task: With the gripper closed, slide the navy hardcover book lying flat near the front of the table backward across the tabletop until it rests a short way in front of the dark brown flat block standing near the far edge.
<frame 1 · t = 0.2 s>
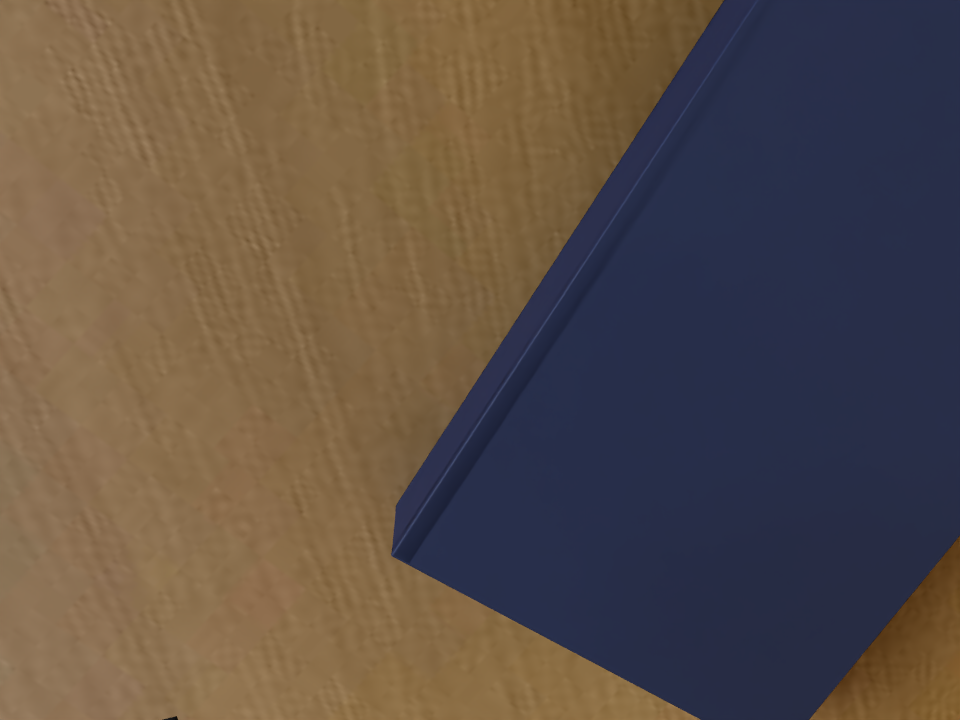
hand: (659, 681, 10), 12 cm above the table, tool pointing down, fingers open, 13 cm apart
book: (807, 279, 21), on the table
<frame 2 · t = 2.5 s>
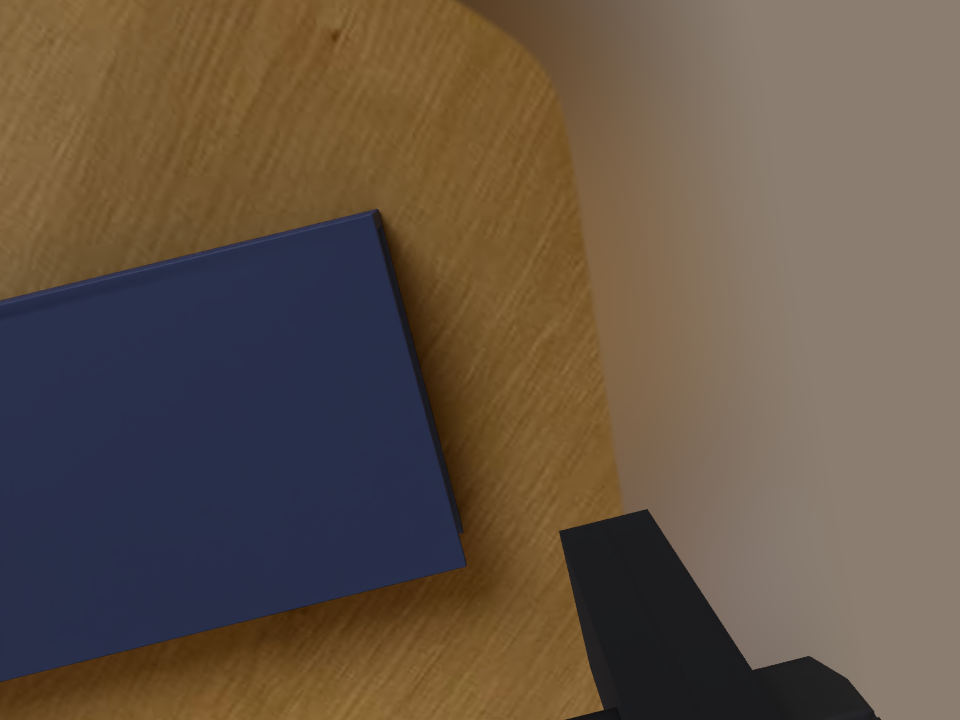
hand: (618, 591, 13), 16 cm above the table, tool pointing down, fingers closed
book: (115, 453, 28), on the table
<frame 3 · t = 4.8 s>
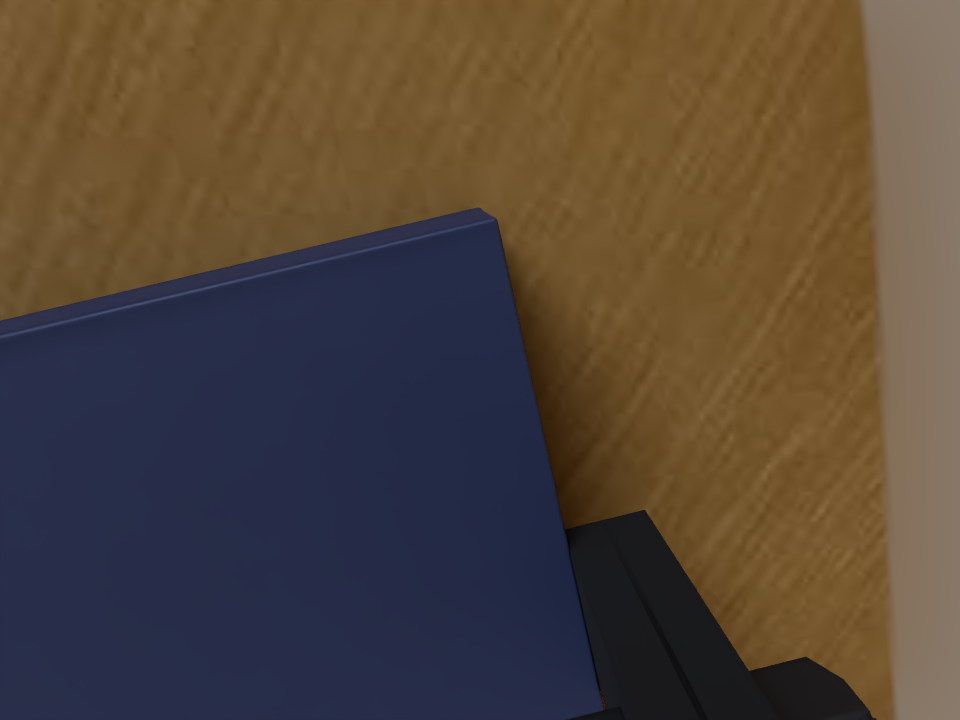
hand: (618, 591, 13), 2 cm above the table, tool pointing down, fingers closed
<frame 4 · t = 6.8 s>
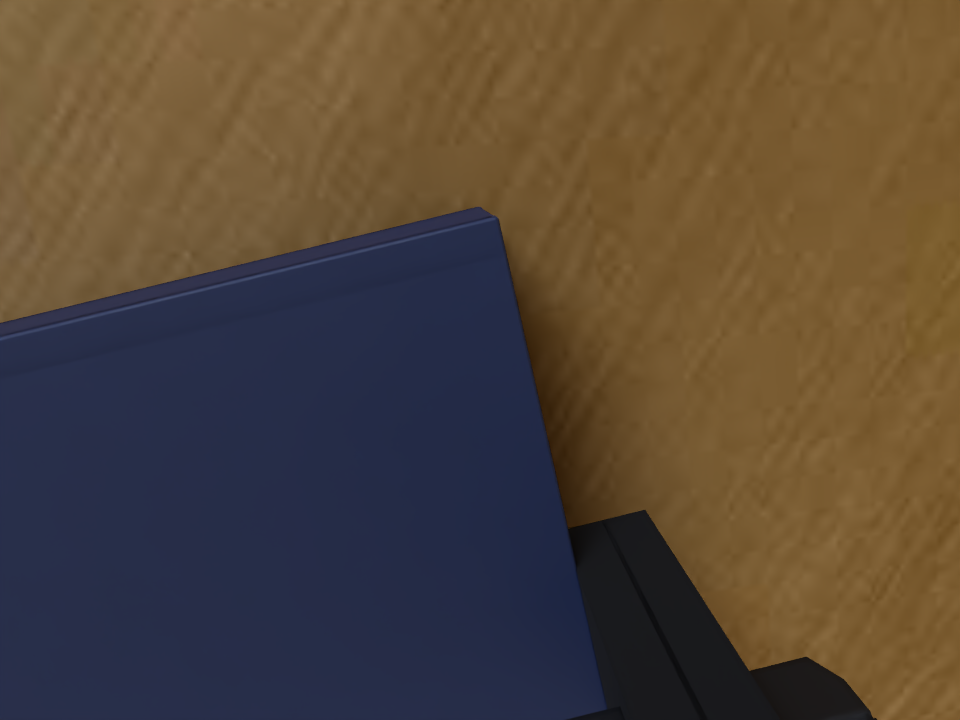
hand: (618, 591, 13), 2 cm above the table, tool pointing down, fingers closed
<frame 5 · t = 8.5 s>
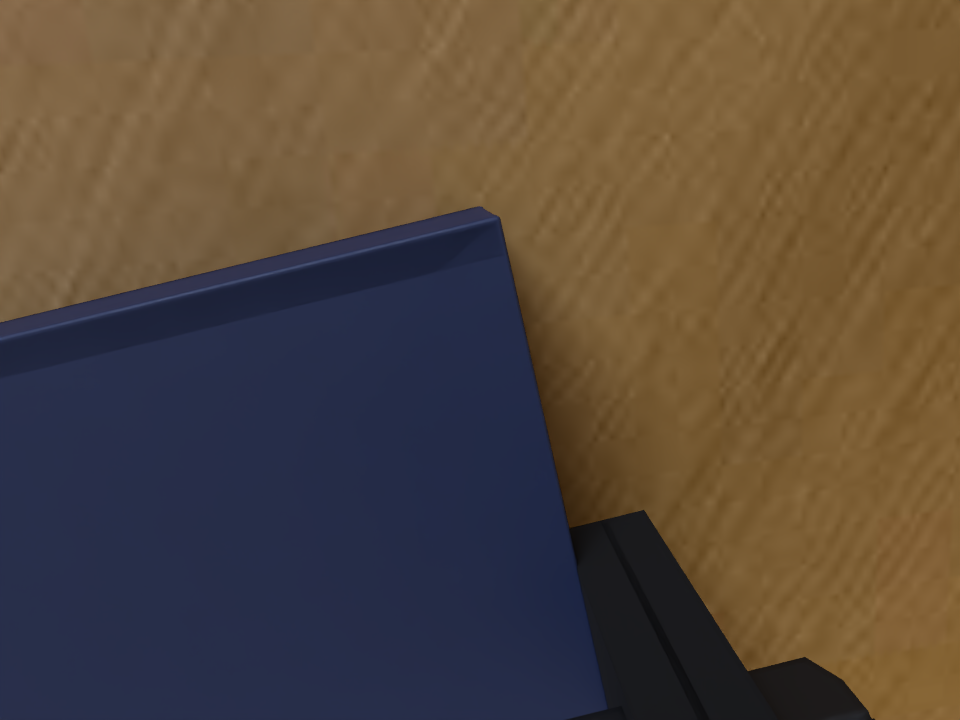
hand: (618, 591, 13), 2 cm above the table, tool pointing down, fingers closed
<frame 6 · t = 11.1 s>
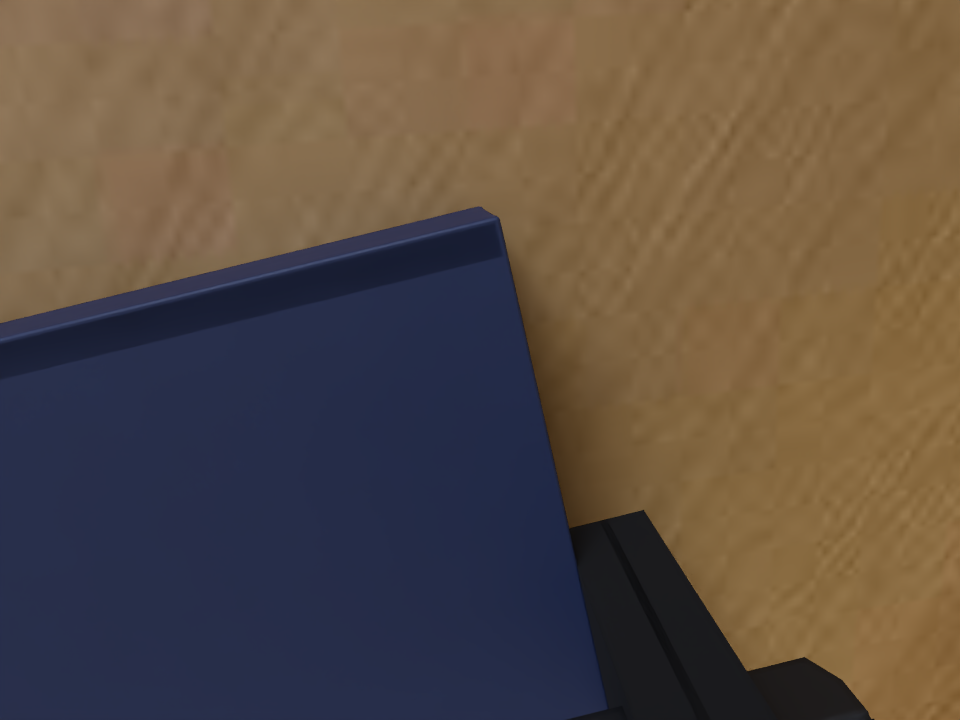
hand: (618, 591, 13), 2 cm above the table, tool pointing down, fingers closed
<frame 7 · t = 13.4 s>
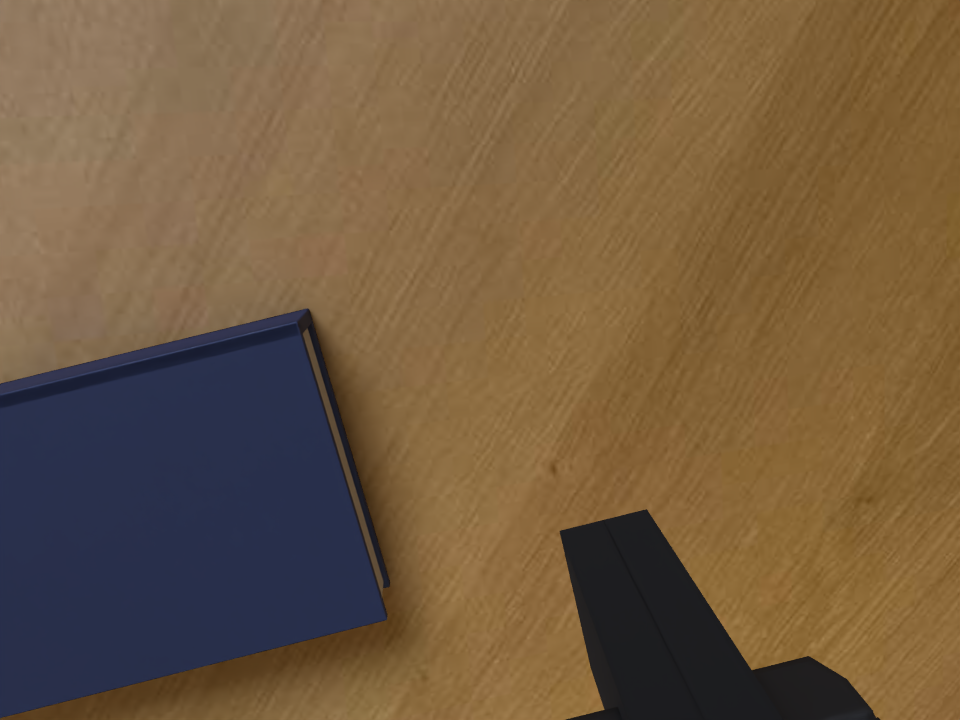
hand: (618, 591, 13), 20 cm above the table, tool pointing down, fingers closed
book: (79, 519, 32), on the table
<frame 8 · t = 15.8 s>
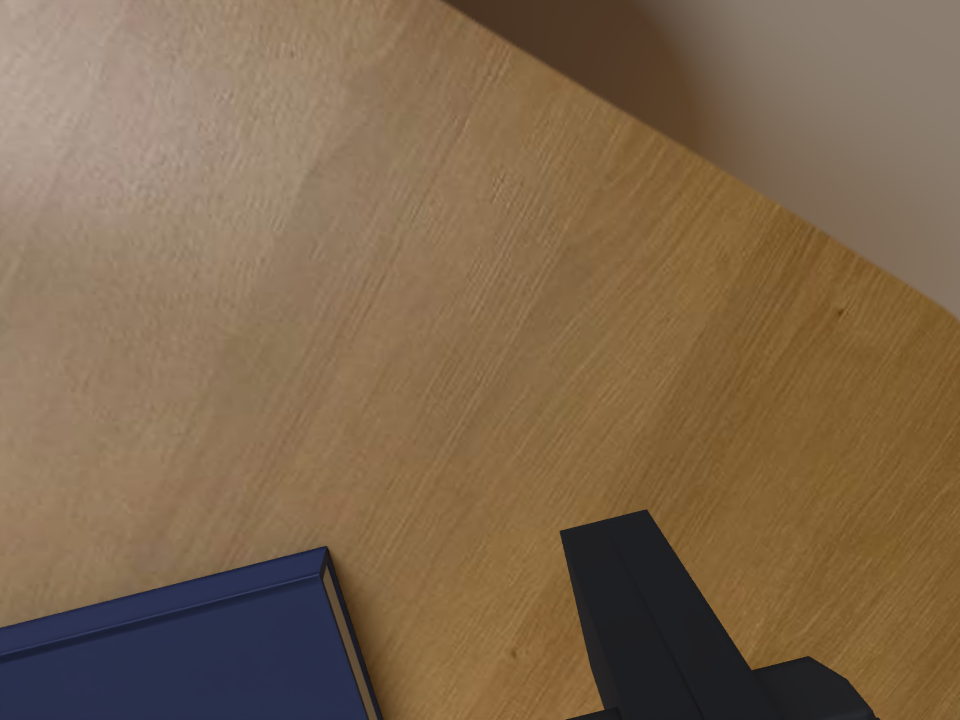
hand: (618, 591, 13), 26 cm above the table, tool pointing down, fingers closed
book: (154, 697, 42), on the table
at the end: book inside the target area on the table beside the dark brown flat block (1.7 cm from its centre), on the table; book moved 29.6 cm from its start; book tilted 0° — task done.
